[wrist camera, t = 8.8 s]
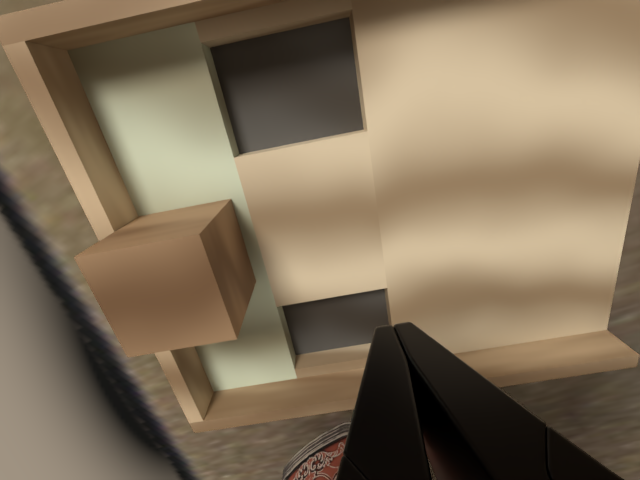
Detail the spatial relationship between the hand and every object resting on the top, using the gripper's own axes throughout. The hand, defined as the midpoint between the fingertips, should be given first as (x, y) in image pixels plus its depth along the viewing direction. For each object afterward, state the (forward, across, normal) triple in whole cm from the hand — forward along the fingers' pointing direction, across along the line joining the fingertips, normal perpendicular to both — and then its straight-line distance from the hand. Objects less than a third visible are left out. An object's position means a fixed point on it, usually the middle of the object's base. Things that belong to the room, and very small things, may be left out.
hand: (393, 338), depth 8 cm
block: (+9, +8, 0) cm, 12 cm away
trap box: (+10, -1, 0) cm, 10 cm away
